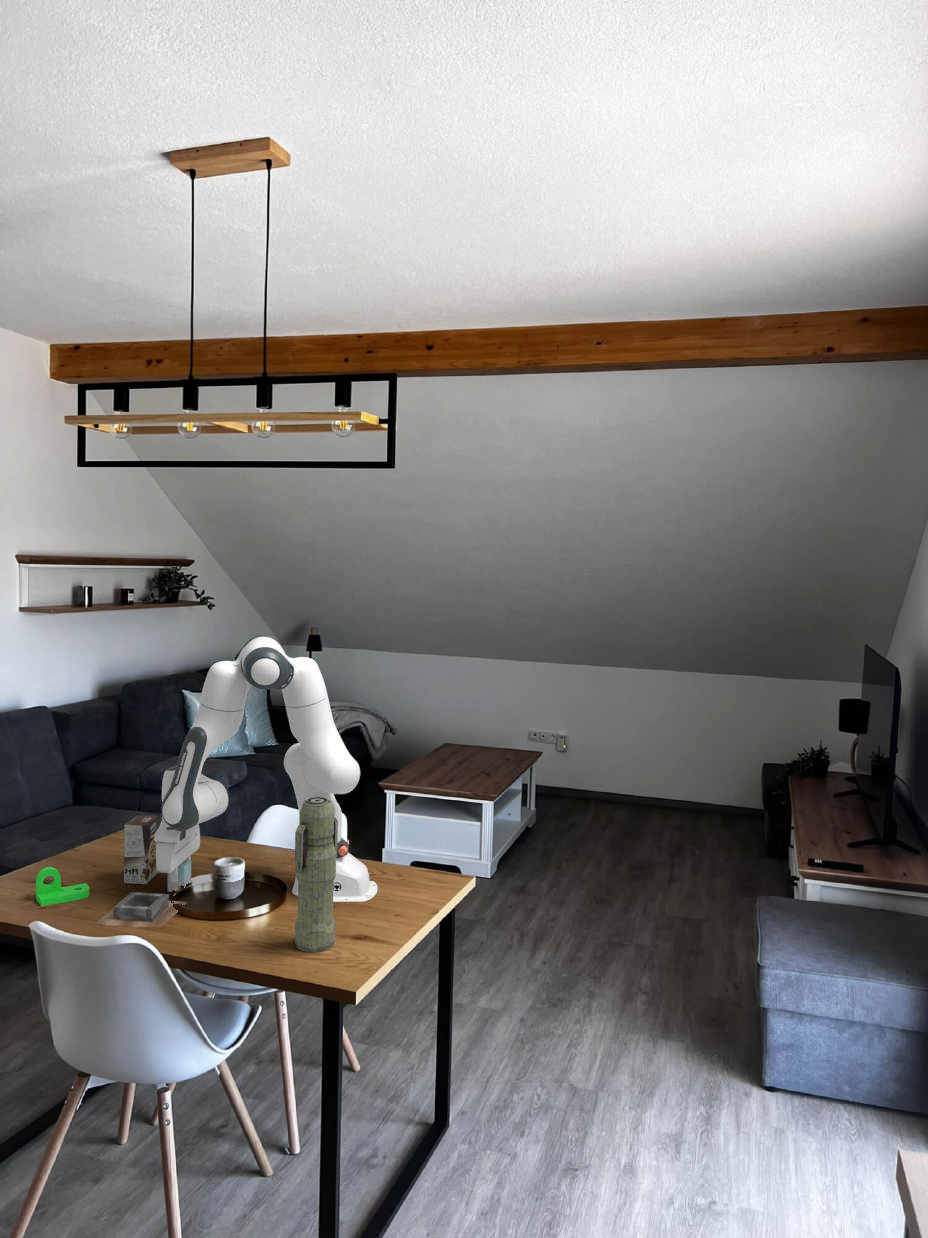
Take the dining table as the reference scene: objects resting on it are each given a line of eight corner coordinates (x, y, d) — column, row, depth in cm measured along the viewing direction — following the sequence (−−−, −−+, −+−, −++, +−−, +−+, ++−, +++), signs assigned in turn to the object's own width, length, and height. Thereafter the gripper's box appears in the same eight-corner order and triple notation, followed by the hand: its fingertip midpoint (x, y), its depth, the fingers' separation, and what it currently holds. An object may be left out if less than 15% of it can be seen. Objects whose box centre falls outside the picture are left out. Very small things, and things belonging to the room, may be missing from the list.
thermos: (346, 946, 208) (349, 797, 205) (314, 967, 198) (317, 809, 195) (315, 937, 213) (318, 790, 210) (282, 957, 202) (284, 803, 199)
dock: (186, 905, 228) (186, 890, 228) (159, 933, 213) (159, 916, 212) (125, 901, 230) (125, 886, 230) (93, 928, 214) (93, 912, 214)
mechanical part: (40, 908, 225) (40, 876, 224) (36, 900, 230) (35, 869, 229) (91, 898, 232) (91, 867, 231) (86, 890, 237) (85, 860, 236)
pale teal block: (191, 886, 241) (191, 860, 240) (184, 892, 237) (184, 866, 236) (174, 885, 241) (174, 859, 241) (167, 891, 237) (167, 865, 236)
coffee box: (147, 884, 241) (147, 825, 240) (123, 883, 242) (123, 824, 240) (159, 872, 250) (159, 815, 249) (136, 871, 251) (136, 814, 249)
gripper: (183, 813, 248) (183, 862, 249) (151, 837, 228) (151, 891, 229) (206, 814, 248) (206, 864, 249) (175, 839, 227) (175, 892, 228)
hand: (179, 877), depth 239 cm, fingers closed on pale teal block, 4 cm apart
